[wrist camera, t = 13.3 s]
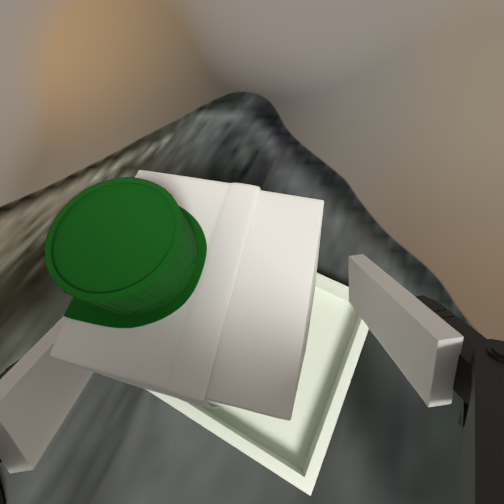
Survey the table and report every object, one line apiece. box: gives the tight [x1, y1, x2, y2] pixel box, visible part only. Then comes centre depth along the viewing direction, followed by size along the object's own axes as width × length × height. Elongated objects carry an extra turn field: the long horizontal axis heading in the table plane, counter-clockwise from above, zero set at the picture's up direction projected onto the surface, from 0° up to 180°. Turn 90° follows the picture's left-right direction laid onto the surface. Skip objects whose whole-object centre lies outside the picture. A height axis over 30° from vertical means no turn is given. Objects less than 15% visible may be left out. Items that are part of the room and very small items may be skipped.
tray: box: [146, 273, 369, 496], centre depth 25 cm, size 20×16×2 cm
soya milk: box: [45, 170, 324, 421], centre depth 17 cm, size 9×9×20 cm
